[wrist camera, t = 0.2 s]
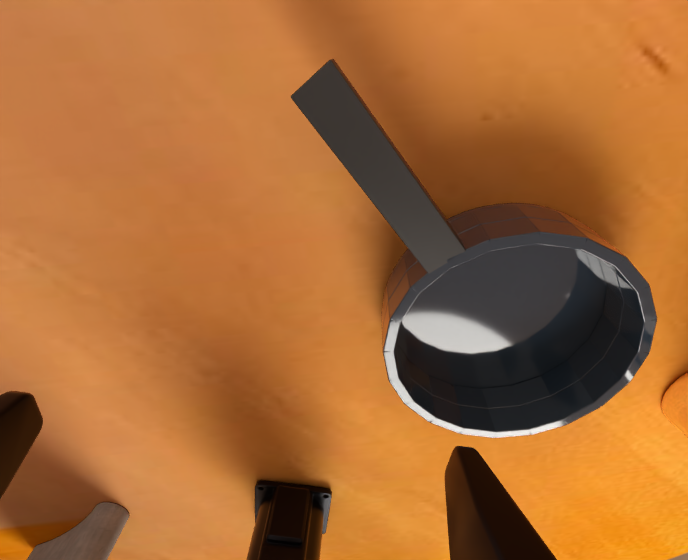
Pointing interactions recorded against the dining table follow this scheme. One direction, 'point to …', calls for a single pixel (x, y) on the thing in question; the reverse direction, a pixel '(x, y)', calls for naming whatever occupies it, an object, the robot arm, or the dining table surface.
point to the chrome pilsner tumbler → (677, 404)
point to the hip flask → (86, 536)
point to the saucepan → (516, 324)
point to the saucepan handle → (377, 165)
